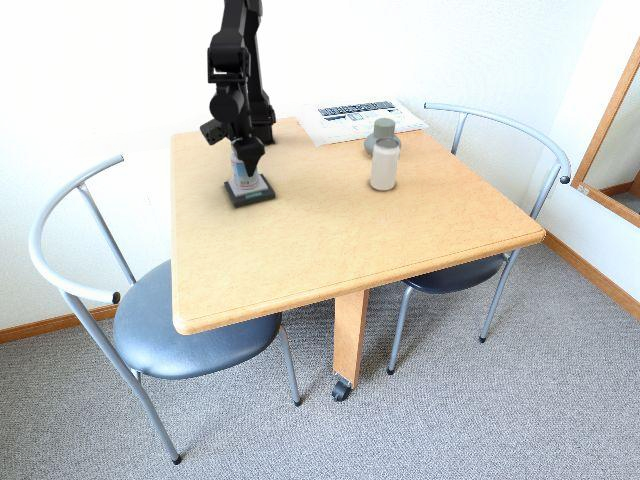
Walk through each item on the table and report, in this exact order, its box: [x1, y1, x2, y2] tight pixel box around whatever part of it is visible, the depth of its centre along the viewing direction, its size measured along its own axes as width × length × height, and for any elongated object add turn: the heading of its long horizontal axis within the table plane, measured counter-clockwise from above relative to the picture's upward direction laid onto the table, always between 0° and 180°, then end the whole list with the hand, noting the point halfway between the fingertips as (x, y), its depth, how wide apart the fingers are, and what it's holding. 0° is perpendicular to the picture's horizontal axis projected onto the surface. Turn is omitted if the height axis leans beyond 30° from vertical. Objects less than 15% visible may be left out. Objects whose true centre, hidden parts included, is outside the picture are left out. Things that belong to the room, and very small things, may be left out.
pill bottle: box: [229, 139, 259, 189], centre depth 90 cm, size 6×6×11 cm
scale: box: [223, 173, 276, 209], centre depth 94 cm, size 10×10×2 cm
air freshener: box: [363, 117, 402, 157], centre depth 107 cm, size 11×8×10 cm
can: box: [369, 138, 401, 192], centre depth 93 cm, size 6×6×12 cm
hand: (245, 167), depth 91 cm, fingers open, 9 cm apart
